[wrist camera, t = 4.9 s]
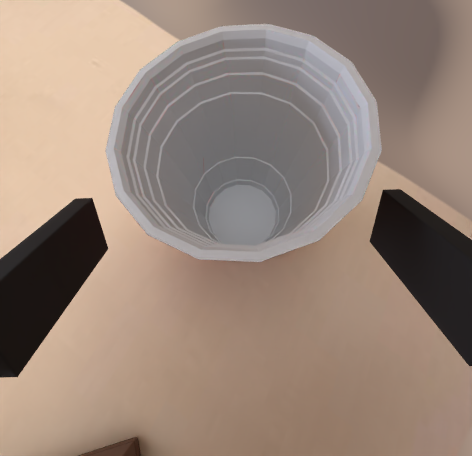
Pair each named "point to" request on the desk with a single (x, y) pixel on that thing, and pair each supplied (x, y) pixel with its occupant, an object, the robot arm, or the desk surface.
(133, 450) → the tray
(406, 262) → the robot arm
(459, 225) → the desk surface
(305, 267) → the desk surface
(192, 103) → the plastic cup
